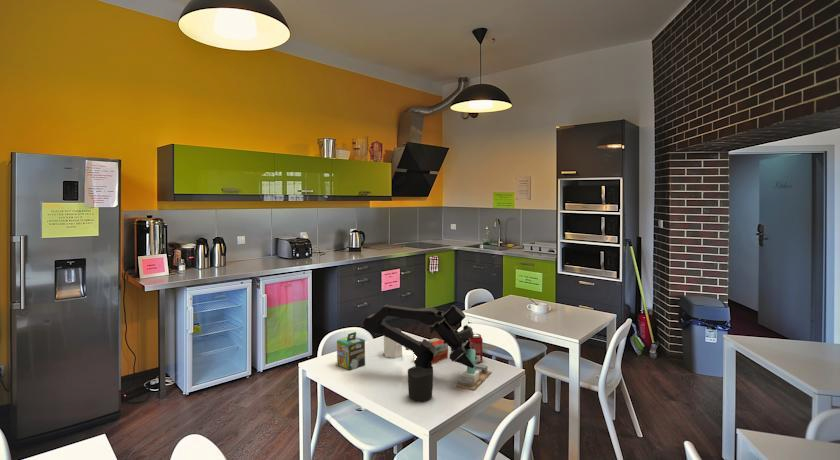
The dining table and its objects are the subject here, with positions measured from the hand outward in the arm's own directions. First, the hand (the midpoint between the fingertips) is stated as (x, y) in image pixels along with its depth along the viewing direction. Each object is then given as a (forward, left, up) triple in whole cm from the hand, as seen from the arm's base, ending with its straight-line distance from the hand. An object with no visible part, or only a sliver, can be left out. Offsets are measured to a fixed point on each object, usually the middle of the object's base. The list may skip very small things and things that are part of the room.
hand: (474, 363), depth 178 cm
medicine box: (-11, +29, -8) cm, 32 cm away
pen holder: (-24, -8, -8) cm, 27 cm away
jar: (-27, +39, -8) cm, 48 cm away
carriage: (-1, +1, -8) cm, 8 cm away
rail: (+1, +3, -8) cm, 9 cm away
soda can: (+8, +23, -8) cm, 26 cm away
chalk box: (-47, +30, -8) cm, 56 cm away
